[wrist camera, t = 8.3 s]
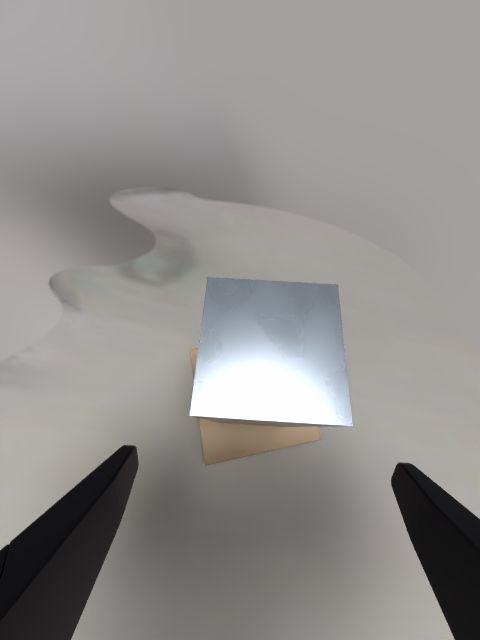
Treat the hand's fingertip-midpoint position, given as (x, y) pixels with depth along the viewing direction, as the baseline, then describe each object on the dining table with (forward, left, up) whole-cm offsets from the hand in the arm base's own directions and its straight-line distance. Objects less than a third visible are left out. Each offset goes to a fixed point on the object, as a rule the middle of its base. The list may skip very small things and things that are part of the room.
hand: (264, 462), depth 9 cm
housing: (+4, -1, -11) cm, 12 cm away
